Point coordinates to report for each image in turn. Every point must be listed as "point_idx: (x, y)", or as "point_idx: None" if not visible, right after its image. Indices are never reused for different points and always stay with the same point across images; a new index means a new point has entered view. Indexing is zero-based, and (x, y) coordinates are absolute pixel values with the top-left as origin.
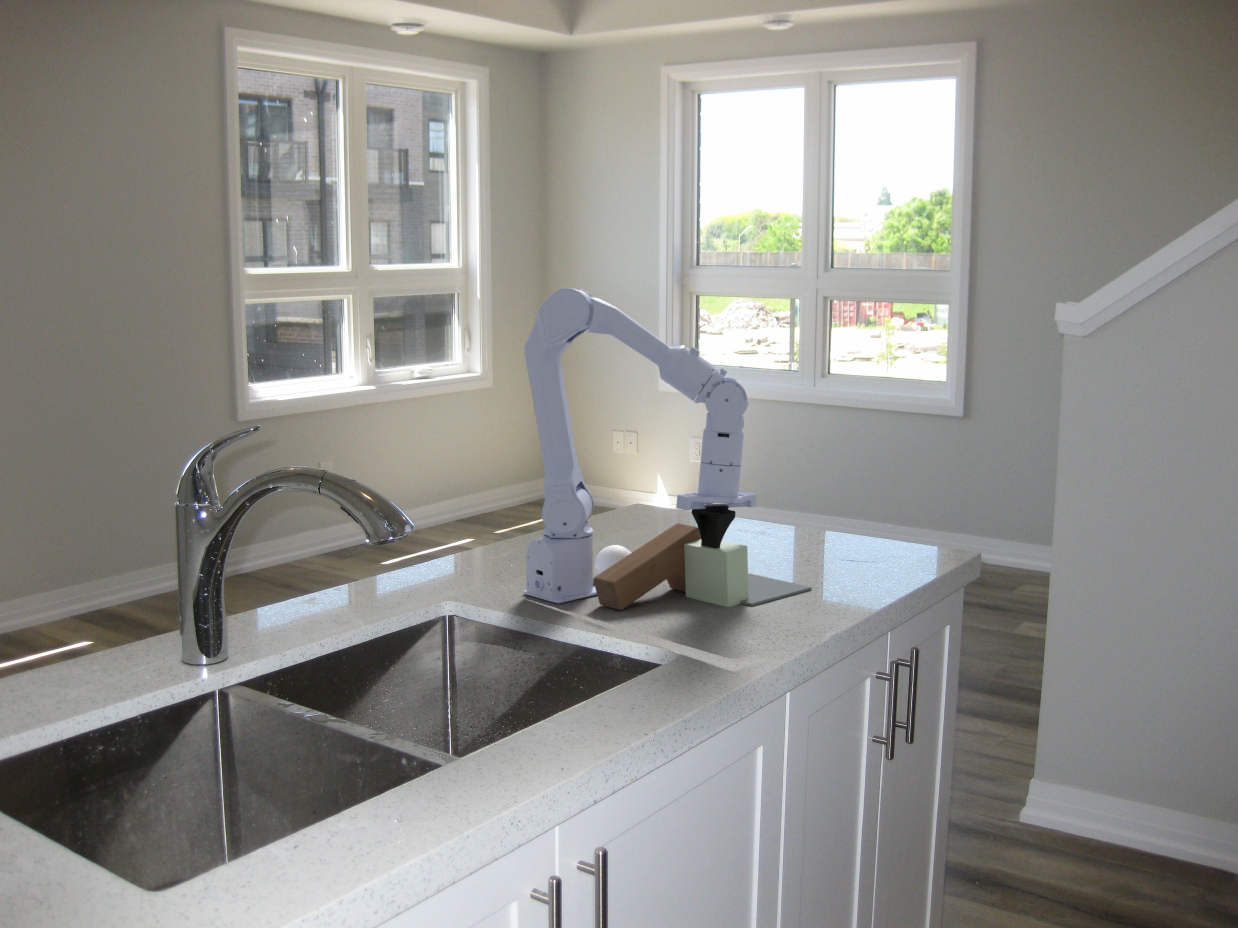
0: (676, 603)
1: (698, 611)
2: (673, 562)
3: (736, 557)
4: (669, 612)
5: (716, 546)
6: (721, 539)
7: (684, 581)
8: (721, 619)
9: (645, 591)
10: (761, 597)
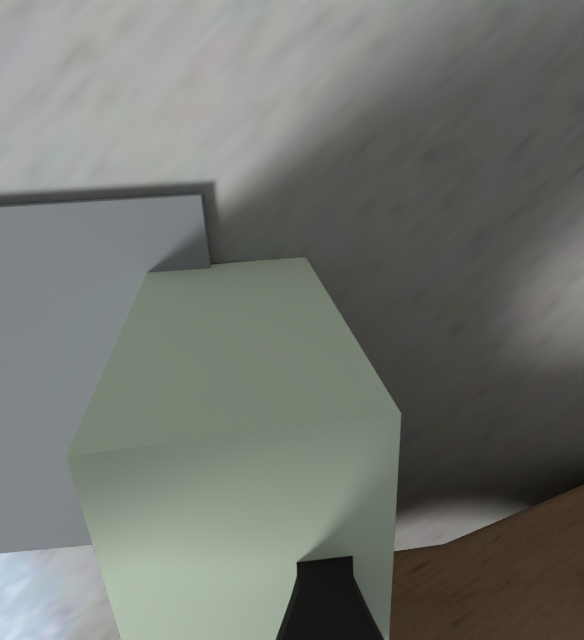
0: (422, 423)
1: (461, 286)
2: (439, 613)
3: (245, 389)
4: (553, 346)
5: (346, 571)
6: (298, 627)
7: None
8: (507, 113)
9: (571, 499)
10: (68, 249)
